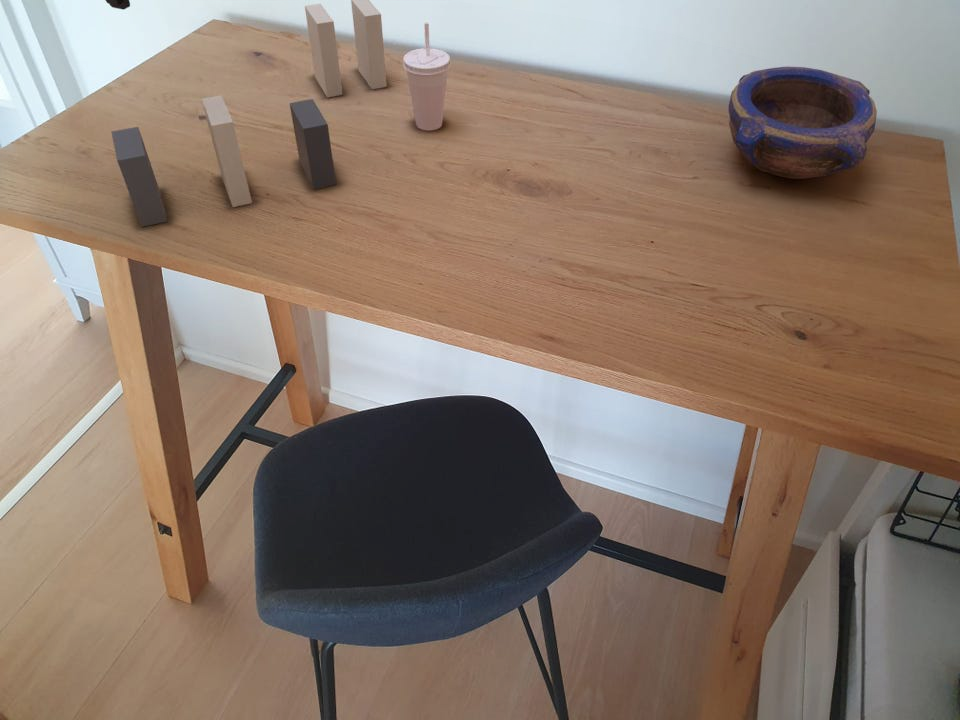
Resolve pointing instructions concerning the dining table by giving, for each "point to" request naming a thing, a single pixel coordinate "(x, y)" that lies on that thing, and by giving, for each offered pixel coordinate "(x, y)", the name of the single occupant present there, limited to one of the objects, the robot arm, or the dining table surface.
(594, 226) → the dining table surface
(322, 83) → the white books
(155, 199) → the grey books
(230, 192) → the beige rectangular block
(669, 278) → the dining table surface
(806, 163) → the bowl
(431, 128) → the smoothie
